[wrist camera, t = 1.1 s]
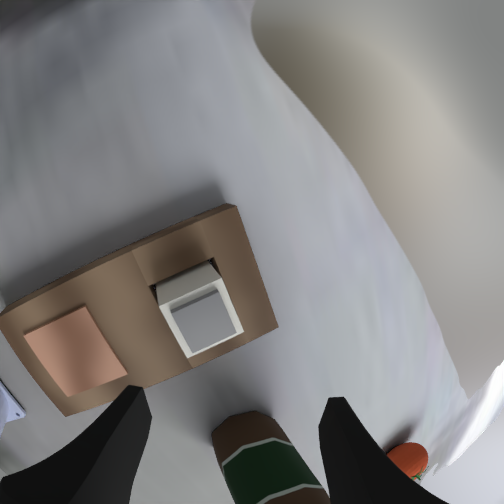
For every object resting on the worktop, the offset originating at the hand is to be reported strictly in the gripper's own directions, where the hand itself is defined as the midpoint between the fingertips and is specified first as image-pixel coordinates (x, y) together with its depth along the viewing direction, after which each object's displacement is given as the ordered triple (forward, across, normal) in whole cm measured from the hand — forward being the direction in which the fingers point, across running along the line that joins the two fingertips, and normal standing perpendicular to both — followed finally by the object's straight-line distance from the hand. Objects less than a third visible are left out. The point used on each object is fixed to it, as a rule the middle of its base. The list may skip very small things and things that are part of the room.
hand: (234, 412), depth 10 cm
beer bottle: (+12, 0, +19) cm, 22 cm away
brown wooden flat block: (+10, +8, +3) cm, 14 cm away
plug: (+12, +4, +2) cm, 13 cm away
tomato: (+19, -30, +42) cm, 55 cm away
